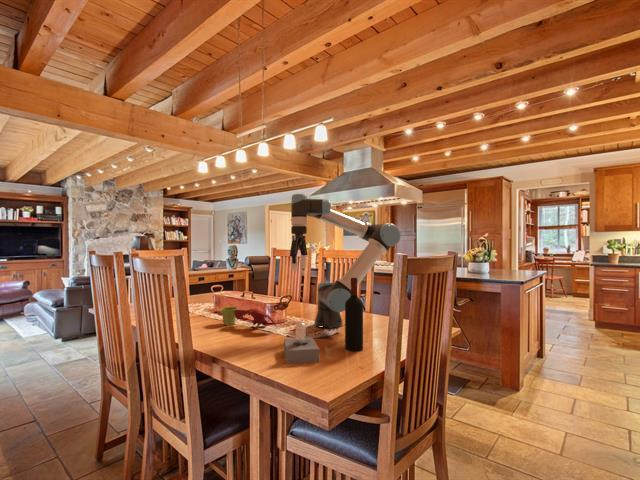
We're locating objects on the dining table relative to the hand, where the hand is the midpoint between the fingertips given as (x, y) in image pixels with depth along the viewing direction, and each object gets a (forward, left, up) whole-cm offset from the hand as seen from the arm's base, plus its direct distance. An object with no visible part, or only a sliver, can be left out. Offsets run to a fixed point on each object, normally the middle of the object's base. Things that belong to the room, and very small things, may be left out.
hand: (299, 269), depth 170 cm
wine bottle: (-20, +27, -32) cm, 46 cm away
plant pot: (+35, -27, -32) cm, 54 cm away
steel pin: (+4, +32, -31) cm, 44 cm away
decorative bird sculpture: (+20, -15, -32) cm, 41 cm away
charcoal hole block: (+4, +32, -32) cm, 45 cm away
